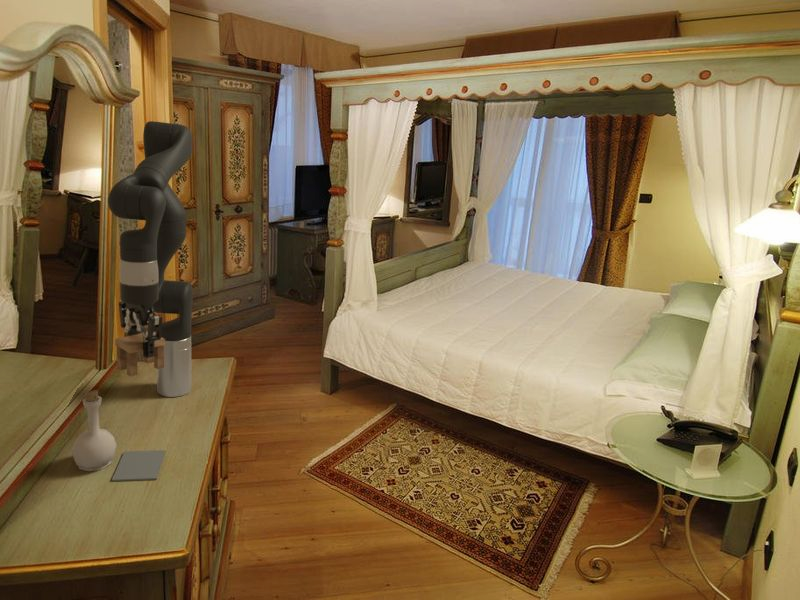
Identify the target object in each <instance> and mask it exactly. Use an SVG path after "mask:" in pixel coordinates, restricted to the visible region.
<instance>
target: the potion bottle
mask: <svg viewBox="0 0 800 600" xmlns="http://www.w3.org/2000/svg"><path fill="white" fill-rule="evenodd" d="M84 396H85V397H84V398H82V400H81V401H82V404H83V407H84V409H86V411H87V412H86V413H87V414H86V415H87V430H85V431H83V432H82V433H80V434H79V435H78V436H77V437H76V439H75V441H74V442H73V444H72V448H71V454H72V457H73V460H74V463H75V464H76V466H78V468H79V470H80V471H85V472H90V473H91V472H95V471H101V470H103V469H105V468H107V467H109V466H110V465H111V464H112V461H113V460H114V457H115V454H116V450H117V445H118V444H117V442H116V440H115V439H116V438H115V437H114V436H113V435H112V433H110V431H109V430H107V429H105V428H100V417H99V415H100V413H99V408H100V407H101V405H102V402H103V401H102V400H103V398H102V397H101V396H100V395H99V389H95V390H94V389H93V390H91V391H90V390H89V391H88V392H86V393H84Z"/></svg>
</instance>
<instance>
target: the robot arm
mask: <svg viewBox="0 0 800 600" xmlns="http://www.w3.org/2000/svg"><path fill="white" fill-rule="evenodd" d="M142 133H143V135H142V136H143V137H142V139H143V140H142V141H143V152H144V159H143V160H142V161H141V162H139V164H138V165H137V166H136V168H135V169H134V171H133V172H132V174H130V175H128V176H126V177H124V178H123V179H121V180H119V181H118V182H116V183H115V185H114V186H113V187H112V188H111V189H110V191H109V194H108V198H107V205H108V209H109V210H110V211H111V213H112V215H114V216H115V217H117V218H119V219H123V220H125V219H127V220H137V221H145V224H144V226H143V227H142V228H137V229H130V230H126V231H123V232H121V234H120V236H119V252H120V254H119V256H120V263H119V271H118V272H119V295H120V296H119V299H120V301H119V302H118V312H119V313H118V314H119V320H120V322H119V323H120V327H121V328H122V329H124V331H125V333H126V335H127V336H132V335H136V334H142V338H143V350H142V356H143V358H144V357H145V358H149V357H153V356H154V342H155V341H157V340H160V339H161V337H162V338H164V339H165V345H164V368H161V369H156V392H157V393H158V394H159V395H160V396H162V397H167V398H174V397H175V398H177V397H181V396H184V395H185V396H186V395H187V394H189V393H191V390H192V316H193V314H192V313H193V302H194V300H193V299H194V296H193V295H194V289H193V286H192V284H191V282H189V281H186V280H185V281H184V280H183V281H182V280H168V279H167V280H166V279H165V272H166V269H167V268H168V265H169V264H170V262H171V260H172V259H173V257H174V256H175V255H176V253H177V252H178V250H179V249H180V248H181V247H182V245H183V244H184V242H185V239H186V237H187V213H186V208H185V207H184V206H183V204H182V202H181V200H180V198H179V197H178V196H177V194H176V193H175V192H174V190H173V188H172V187H171V185H170V184H169V182H170V180H171V179H172V177H173V176H175V174H176V173H177V172H178V171H180V169H181V168H183V166H184V165H186V164H187V162H188V161H189V160H190V158H191V157H192V156H191V155H192V153H193V145H194V143H193V142H194V141H193V135H192V134H193V133H192V131H191V129H190V128H189V127H188V126H186V125H183V124H181V123H180V124H179V123H170V122H162V121H154V120H152V121H147V122H145V124H144V127H143V132H142ZM155 313H158V314H155ZM162 314H167V315H168V314H173V315H174V314H175V315H178V317H176V318H173V319H170V320H168V321H165V322H163V315H162ZM145 326H146V327H145ZM146 332H148V335H147V334H146Z"/></svg>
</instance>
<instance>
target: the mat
mask: <svg viewBox="0 0 800 600" xmlns="http://www.w3.org/2000/svg"><path fill="white" fill-rule="evenodd" d="M166 452H167V451H166V450H161V449H160V450H134V451H133V450H129V451H128V450H126V451H123V454H122V456H121V457H120V461H119V462H118V465H117V468H116V469H115V472H114V474H113V475H112V479H111V482H130V481H131V482H132V481H134V482H135V481H150V480H151V481H156V480H157V479H158V477H159V474H160V470H161V467H162V464H163V461H164V458H165V455H166Z"/></svg>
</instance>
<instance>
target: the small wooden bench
mask: <svg viewBox="0 0 800 600" xmlns="http://www.w3.org/2000/svg"><path fill="white" fill-rule="evenodd" d="M146 334H147V335H148V331H146ZM114 340H115V341H114V343H115V346H116V368H117V369H118V370H119V371H124V370H126V374H127V376H129V377H135V376H138V352H141V351H142V352H143V338H142V334H141V333H138V334H136V335H132V336H122V337H116V338H115V339H114ZM164 345H165V339H164V338H162V337H161V339H160V340H157V341H155V342H154V356H153V357H149V358H145V357H143V358H144V359H143V361H144V363H146V364H151V363H153V367H154V368H155V369H156V370H157V369H161V368H164Z"/></svg>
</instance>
